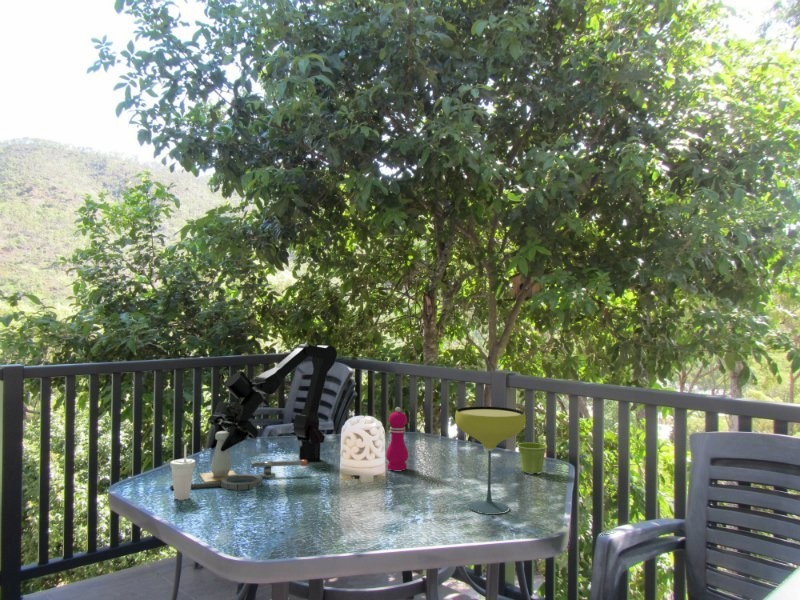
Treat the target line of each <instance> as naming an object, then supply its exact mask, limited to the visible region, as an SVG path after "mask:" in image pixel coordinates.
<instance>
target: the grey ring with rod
mask: <svg viewBox="0 0 800 600" xmlns="http://www.w3.org/2000/svg"><path fill="white" fill-rule="evenodd" d="M241 481H243V482H241ZM244 481H247V482H244ZM262 485H263V478H262V477H261V476H259V475H257V474H251V473H249V474H248V473H242V474H241V473H238V474H237V475H231V476H227V477H225V478H223V479H222V482H217V483H191V489H203V488H205V489H207V488H219V487H221V488H223V489H227V490H231V491H232V490H235V491H242V490H244V491H245V490H251V489H252V490H253V489H256V488H258V487H260V486H262ZM169 488H170V490H171V489H174V488H173V484H172V485H170V486H169Z"/></svg>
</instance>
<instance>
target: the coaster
mask: <svg viewBox="0 0 800 600" xmlns="http://www.w3.org/2000/svg"><path fill="white" fill-rule="evenodd" d="M231 475H238V474H237V473H236V472H235V471H234V470H231V469H230V471H229V474H228V475H227V476H231ZM198 476H199V478H200V479H201V480H202V482H204V483H217V482H221V483H222V479H223V478H225V477H227V476H225V477H215V476H214V475H213V473H212V471H211V472H200V473H198Z"/></svg>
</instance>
